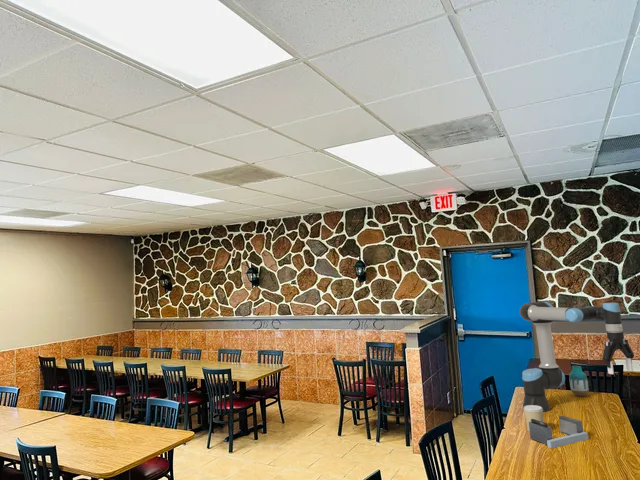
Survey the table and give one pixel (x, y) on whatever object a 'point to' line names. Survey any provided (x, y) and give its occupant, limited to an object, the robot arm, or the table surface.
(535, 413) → the coffee cup
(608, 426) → the table surface
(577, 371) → the vase
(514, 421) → the table surface
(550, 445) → the back rail
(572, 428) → the block
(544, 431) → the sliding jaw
